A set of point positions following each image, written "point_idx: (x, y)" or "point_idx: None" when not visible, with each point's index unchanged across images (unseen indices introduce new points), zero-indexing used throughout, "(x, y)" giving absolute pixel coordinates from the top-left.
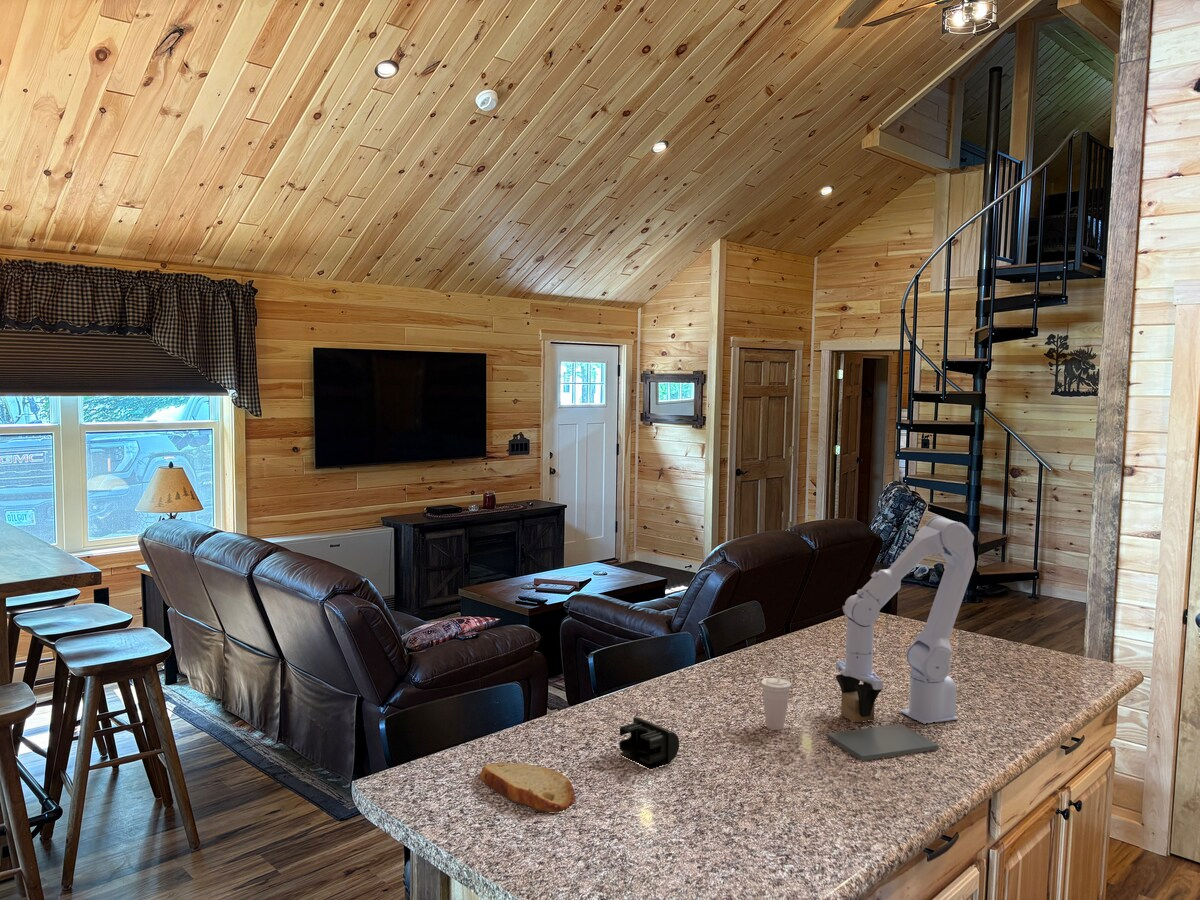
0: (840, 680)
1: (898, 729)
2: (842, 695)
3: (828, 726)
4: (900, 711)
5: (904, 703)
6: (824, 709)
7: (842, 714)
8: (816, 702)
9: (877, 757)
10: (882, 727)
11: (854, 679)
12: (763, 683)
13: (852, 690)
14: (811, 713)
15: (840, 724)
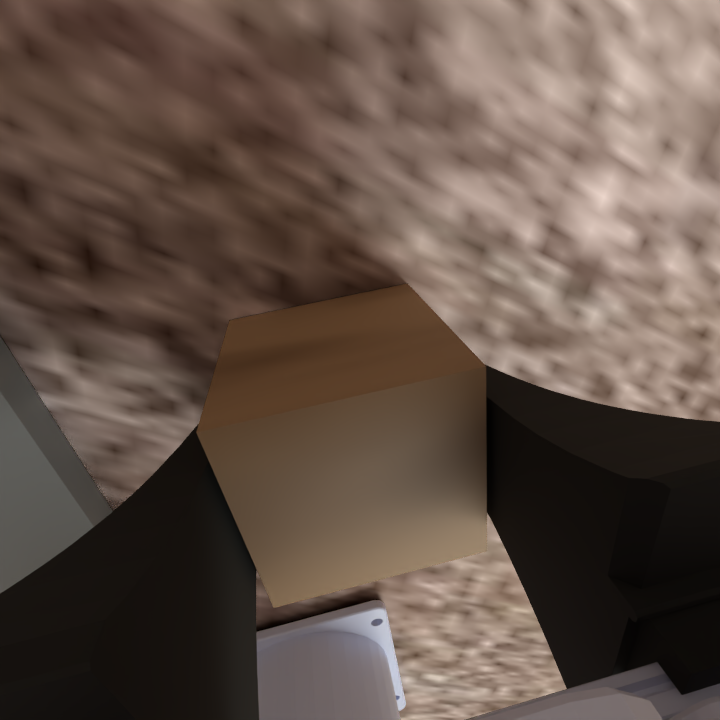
0: (632, 462)
1: (2, 549)
2: (458, 359)
3: (142, 22)
4: (376, 602)
5: (481, 625)
6: (554, 201)
7: (391, 290)
8: (696, 202)
9: None
10: (29, 470)
11: (575, 630)
12: None
13: (500, 493)
14: (515, 14)
15: (205, 189)
